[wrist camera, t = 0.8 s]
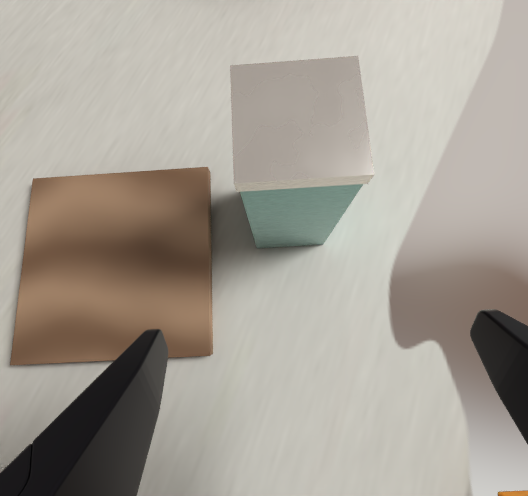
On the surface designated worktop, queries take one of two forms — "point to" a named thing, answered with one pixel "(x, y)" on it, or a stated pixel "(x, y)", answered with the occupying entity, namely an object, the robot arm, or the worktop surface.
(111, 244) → the walnut board
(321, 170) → the tea tin
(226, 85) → the worktop surface
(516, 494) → the supplement box
